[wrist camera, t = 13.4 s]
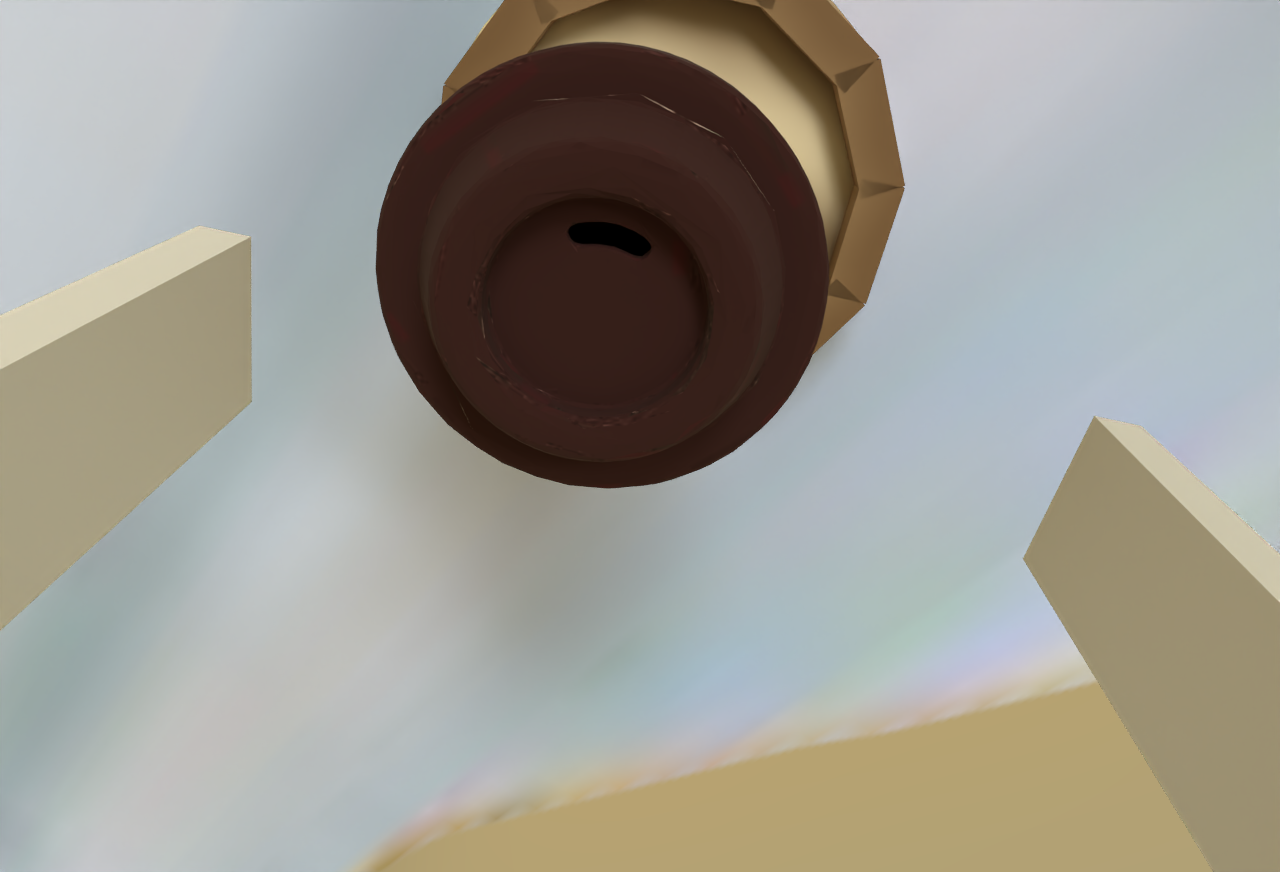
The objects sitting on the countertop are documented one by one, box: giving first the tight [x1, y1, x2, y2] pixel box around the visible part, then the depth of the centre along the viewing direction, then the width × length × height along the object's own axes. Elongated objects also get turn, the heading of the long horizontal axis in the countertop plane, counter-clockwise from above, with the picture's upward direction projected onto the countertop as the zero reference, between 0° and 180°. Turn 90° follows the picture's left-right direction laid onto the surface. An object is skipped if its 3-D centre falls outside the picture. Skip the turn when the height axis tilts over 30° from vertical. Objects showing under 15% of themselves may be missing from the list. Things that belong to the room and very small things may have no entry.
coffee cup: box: [376, 42, 829, 488], centre depth 24 cm, size 10×10×15 cm
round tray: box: [442, 0, 905, 355], centre depth 31 cm, size 16×16×2 cm
